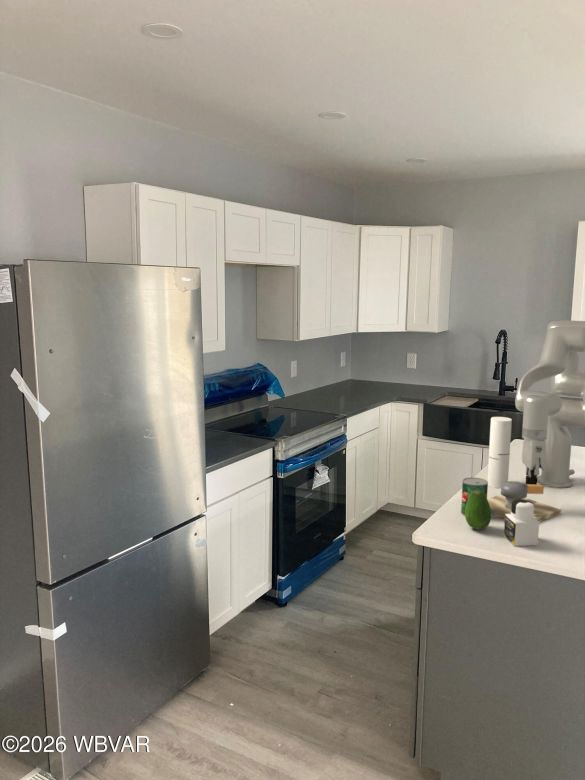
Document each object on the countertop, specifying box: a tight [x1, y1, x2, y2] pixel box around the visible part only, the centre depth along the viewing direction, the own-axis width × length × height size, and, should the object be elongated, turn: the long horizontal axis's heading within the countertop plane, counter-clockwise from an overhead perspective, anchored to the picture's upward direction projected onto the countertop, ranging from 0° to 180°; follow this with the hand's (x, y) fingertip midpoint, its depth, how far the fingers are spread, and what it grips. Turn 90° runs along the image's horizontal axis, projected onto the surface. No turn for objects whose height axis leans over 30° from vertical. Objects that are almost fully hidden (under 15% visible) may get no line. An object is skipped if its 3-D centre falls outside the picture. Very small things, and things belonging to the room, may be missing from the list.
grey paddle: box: [500, 480, 545, 499], centre depth 203 cm, size 13×8×3 cm, turn 88°
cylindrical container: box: [487, 416, 513, 489], centre depth 229 cm, size 7×7×25 cm
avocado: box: [464, 490, 493, 530], centre depth 189 cm, size 8×8×12 cm
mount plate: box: [487, 494, 562, 523], centre depth 205 cm, size 18×20×6 cm
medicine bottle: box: [503, 499, 540, 547], centre depth 180 cm, size 7×7×12 cm
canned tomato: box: [460, 477, 489, 517], centre depth 202 cm, size 8×8×11 cm
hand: (530, 487), depth 206 cm, fingers closed
